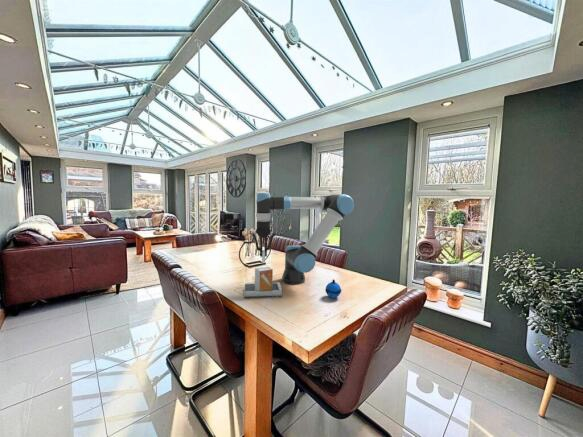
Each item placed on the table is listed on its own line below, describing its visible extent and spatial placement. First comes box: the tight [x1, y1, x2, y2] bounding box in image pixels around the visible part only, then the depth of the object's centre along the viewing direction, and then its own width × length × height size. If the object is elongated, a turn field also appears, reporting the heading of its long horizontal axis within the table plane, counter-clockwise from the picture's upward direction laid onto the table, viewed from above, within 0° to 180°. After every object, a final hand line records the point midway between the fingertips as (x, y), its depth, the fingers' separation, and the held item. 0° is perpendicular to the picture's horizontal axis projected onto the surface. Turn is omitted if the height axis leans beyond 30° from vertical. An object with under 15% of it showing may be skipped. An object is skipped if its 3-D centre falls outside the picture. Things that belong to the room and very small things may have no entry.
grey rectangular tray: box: [243, 281, 283, 299], centre depth 139 cm, size 20×13×4 cm, turn 99°
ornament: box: [325, 279, 342, 299], centre depth 136 cm, size 9×9×10 cm
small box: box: [254, 266, 274, 291], centre depth 138 cm, size 8×6×13 cm
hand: (263, 262), depth 140 cm, fingers closed
